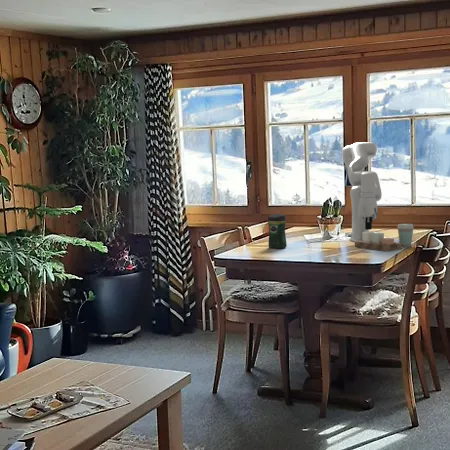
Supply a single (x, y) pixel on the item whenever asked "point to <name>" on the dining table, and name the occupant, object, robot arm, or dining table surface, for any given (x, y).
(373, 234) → the key sage
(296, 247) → the dining table surface
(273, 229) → the coffee jar
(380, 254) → the dining table surface
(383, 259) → the dining table surface
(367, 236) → the pale grey block
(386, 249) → the brown tray
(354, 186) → the robot arm
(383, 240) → the key terracotta
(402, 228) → the coffee cup
